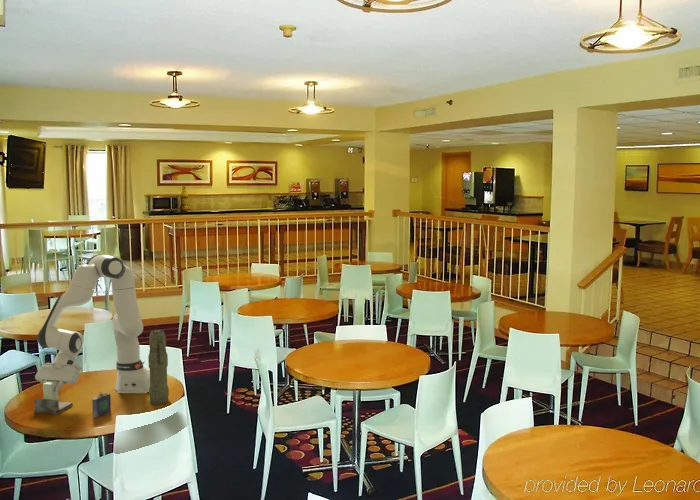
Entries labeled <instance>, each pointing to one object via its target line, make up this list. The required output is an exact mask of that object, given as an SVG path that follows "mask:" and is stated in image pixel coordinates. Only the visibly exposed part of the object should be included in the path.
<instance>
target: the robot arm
mask: <svg viewBox="0 0 700 500" xmlns="http://www.w3.org/2000/svg"><path fill="white" fill-rule="evenodd" d="M101 278H109V280H110V282H111V292H112V302H113V306H114V308H115V312H116V313H114V315H113V316H112V320H111V322H112V323H111V324H112V327H113V328H112V329H113V334H114V340H115V346H116V362H115V365H116V367H115V368H116V380H115V381H116V382H115V386H114V390H115V391H116V392H117V394H146V393H145V392H149V388H150V370H149V369H147V368H145V367H144V364H145V363H146V361H145V360H144V361H142V360H141V351H140V349H141V348H140V343H139V339H138V336H140V335H142V333H143V332H144V331H143V330H144V323H143V321H142V317H141V316H142V315H141V312H140V309H139V305H138V302H137V301H138V300H137V293H136V291H137V290H136V285H135V284H136V283H135V278H134V273H133V271H132V268H131V267H130V266H127V265H125V264H124V263H123V261H122V259H120V258H119V257H117V256H115V255H110V254H96V255H93V256H91V257H89V259H88V261H87V262H86V263H85V264H80V265H78V266H77V267H76V270H75V271H74V273H73V275H72V277H71V280H70V284H69V286H68V288H67V290H66V291H65V292H63V294H60V295H59V296H58V297H57V299H56V300H55V302H54V304H53V306H52V308H51V310H50V312H49V314H48V315H47V318H46V320H45V322H44V323H43V325H42V327H41V328H40V330H39V332H38V335H37V337H36V341H37V343H38V344H39V346H40V347H41V348H45V349H54V350H58V352H57V353H56V356H55V357H54V359H53V361H52V362H46V363H43V364H42V365H41V366H40V367H39V369H38V371H36V374H35V375H34V378H35V380H36V381H37V382H41V383H42V385H43V384H44V383H46V382H48V381H57V382H58V386H57V387H54V389H53V391H55V392H58V393H59V391H60V389H61V388H63V387H64V385H75V384H76V383H77V382H78V380H79V377H80V375H81V371H82V369H83V368H82V367H81V365H80V364H79V363H78V362H77V361H76V358H77V356H79V354H80V352H81V350H82V347H83V344H84V342H85V338H84V337H85V336H84V335H83V334H82V333H80V332H78V331H72V330H68V329H63V328H58V327H56V325H57V323H58V322H59V320H60V317H61V315H62V313H63V312H64V311H65V310H67V309H68V308H72V307H73V308H74V307H79V306H84V305H85V304H86V305H87V303H89V302H91V300H92V298H93V295H94V292H95V289H96V286H97V285H96V284H97V282H98V281H99V279H101ZM41 390H42V391H43V387H42V389H41Z"/></svg>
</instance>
